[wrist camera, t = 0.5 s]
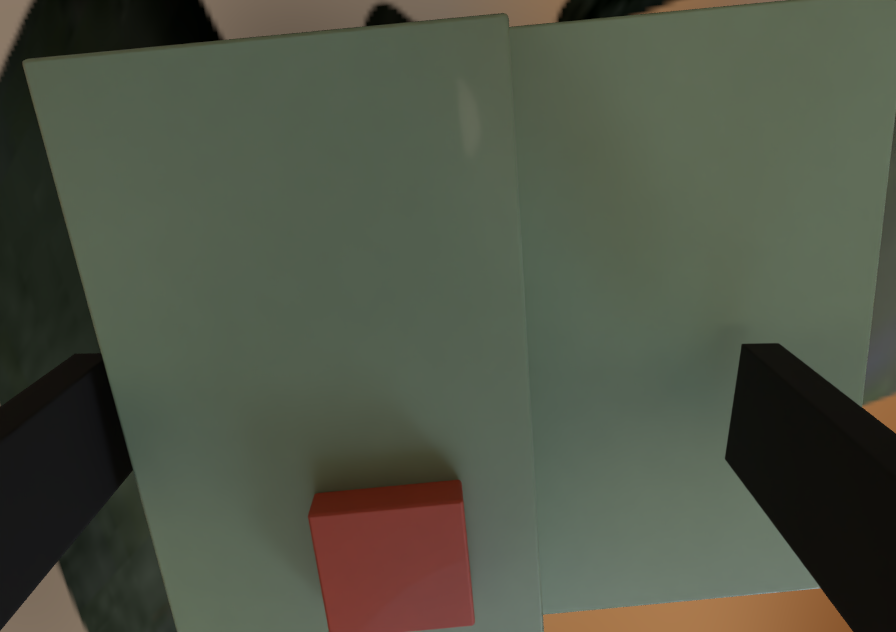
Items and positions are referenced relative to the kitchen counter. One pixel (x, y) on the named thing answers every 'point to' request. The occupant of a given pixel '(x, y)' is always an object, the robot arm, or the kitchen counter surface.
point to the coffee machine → (469, 299)
